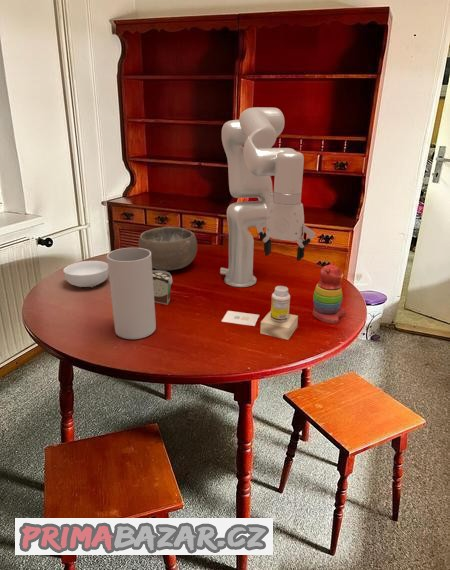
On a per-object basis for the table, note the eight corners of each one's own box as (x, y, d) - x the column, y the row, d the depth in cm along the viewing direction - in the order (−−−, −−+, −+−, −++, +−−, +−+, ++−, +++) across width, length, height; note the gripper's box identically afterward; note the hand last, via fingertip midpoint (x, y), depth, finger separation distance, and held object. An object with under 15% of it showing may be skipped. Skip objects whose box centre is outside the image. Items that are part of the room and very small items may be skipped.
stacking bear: (336, 325, 138) (342, 273, 131) (306, 317, 143) (311, 267, 136) (346, 312, 146) (353, 263, 139) (318, 305, 151) (323, 257, 144)
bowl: (156, 255, 200) (154, 223, 194) (205, 261, 193) (205, 228, 187) (130, 273, 179) (127, 238, 173) (184, 280, 172) (183, 244, 166)
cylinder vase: (134, 317, 142) (127, 245, 132) (164, 327, 136) (159, 252, 127) (106, 333, 132) (97, 256, 122) (137, 344, 126) (131, 264, 117)
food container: (180, 298, 156) (179, 273, 152) (171, 305, 151) (169, 279, 147) (151, 292, 161) (149, 267, 157) (141, 299, 155) (139, 273, 152)
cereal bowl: (116, 277, 175) (115, 260, 172) (101, 293, 160) (99, 276, 157) (76, 275, 176) (74, 259, 174) (58, 291, 161) (55, 274, 158)
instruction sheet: (221, 321, 140) (221, 321, 140) (227, 311, 147) (227, 310, 147) (254, 326, 137) (254, 325, 137) (259, 315, 144) (259, 314, 144)
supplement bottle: (276, 312, 137) (278, 283, 133) (291, 317, 134) (294, 287, 130) (266, 318, 133) (268, 288, 129) (282, 324, 130) (284, 293, 126)
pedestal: (260, 333, 133) (260, 321, 131) (270, 321, 140) (271, 310, 139) (288, 339, 129) (289, 328, 128) (297, 327, 137) (298, 315, 135)
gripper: (252, 197, 119) (251, 256, 126) (314, 204, 112) (308, 265, 119) (262, 193, 125) (260, 249, 132) (321, 198, 118) (316, 257, 125)
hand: (283, 257), depth 125 cm, fingers open, 9 cm apart
